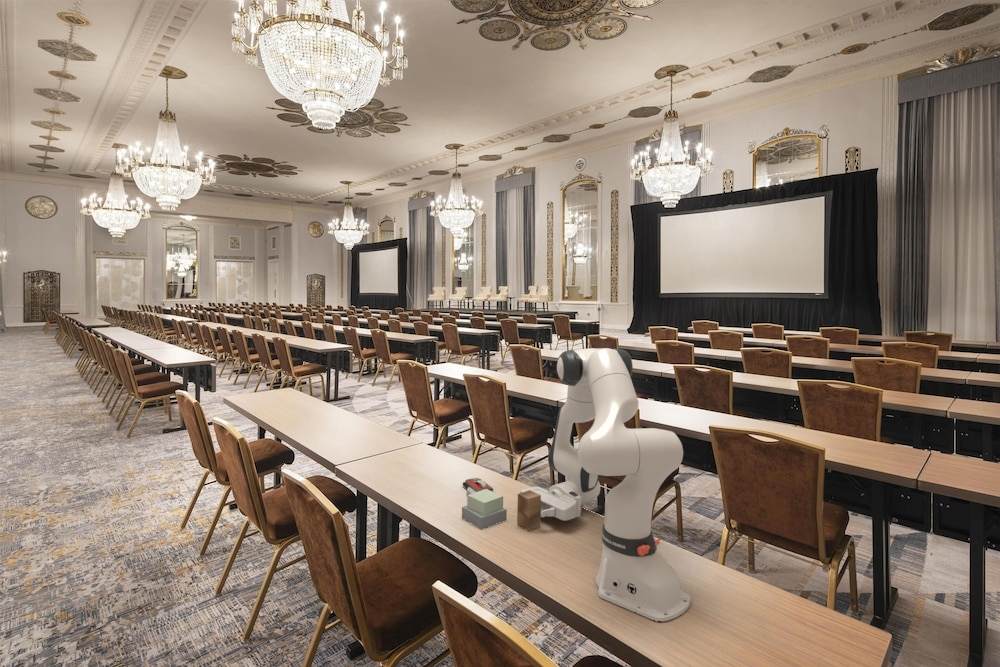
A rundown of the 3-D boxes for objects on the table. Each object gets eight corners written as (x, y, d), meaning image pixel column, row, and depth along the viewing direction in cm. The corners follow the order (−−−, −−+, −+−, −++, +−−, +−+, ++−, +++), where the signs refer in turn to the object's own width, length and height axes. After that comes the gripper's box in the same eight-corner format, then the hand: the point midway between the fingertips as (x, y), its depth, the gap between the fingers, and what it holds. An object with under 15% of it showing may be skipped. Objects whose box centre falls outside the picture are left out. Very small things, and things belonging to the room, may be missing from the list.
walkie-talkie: (457, 488, 190) (480, 508, 172) (457, 476, 189) (481, 495, 172) (478, 484, 194) (504, 504, 176) (479, 472, 193) (504, 491, 176)
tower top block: (503, 508, 163) (503, 496, 163) (484, 515, 158) (484, 502, 157) (486, 500, 169) (486, 488, 168) (467, 507, 163) (467, 495, 163)
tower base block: (506, 521, 163) (506, 509, 162) (481, 530, 156) (481, 518, 156) (486, 511, 170) (486, 499, 170) (461, 519, 164) (462, 507, 164)
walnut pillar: (540, 526, 159) (540, 495, 158) (528, 531, 155) (528, 499, 155) (529, 521, 162) (529, 490, 162) (517, 525, 159) (517, 493, 158)
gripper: (538, 479, 175) (507, 488, 166) (584, 498, 159) (553, 509, 151) (538, 497, 176) (507, 507, 167) (584, 518, 160) (552, 530, 151)
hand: (529, 508), depth 158 cm, fingers open, 8 cm apart
